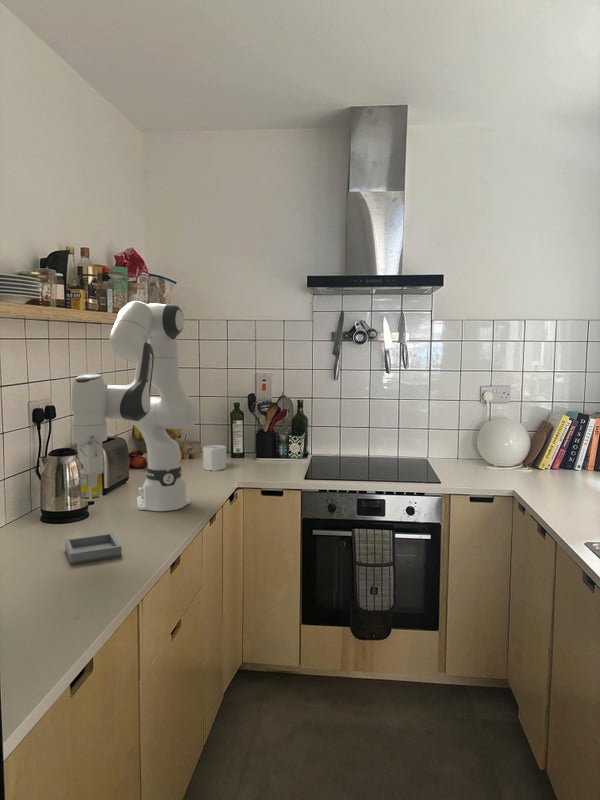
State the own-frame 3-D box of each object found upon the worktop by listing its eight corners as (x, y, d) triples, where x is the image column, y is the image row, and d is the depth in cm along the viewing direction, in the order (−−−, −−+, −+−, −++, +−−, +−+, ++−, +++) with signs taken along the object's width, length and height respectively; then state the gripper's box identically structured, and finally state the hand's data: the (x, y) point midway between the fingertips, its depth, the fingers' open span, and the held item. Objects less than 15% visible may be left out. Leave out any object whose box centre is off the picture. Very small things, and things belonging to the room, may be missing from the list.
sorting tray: (65, 549, 170) (64, 539, 170) (112, 542, 176) (112, 532, 176) (70, 565, 159) (70, 554, 158) (121, 557, 165) (121, 546, 164)
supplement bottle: (104, 496, 169) (103, 460, 168) (99, 501, 163) (98, 464, 162) (83, 496, 168) (82, 460, 167) (78, 502, 163) (77, 464, 162)
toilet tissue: (219, 465, 285) (219, 444, 284) (231, 469, 276) (231, 448, 275) (199, 467, 279) (198, 446, 278) (210, 472, 270) (210, 450, 269)
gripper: (108, 438, 156) (110, 491, 158) (96, 429, 174) (97, 476, 176) (83, 440, 154) (84, 494, 155) (73, 430, 172) (74, 478, 173)
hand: (91, 484), depth 165 cm, fingers closed on supplement bottle, 5 cm apart
